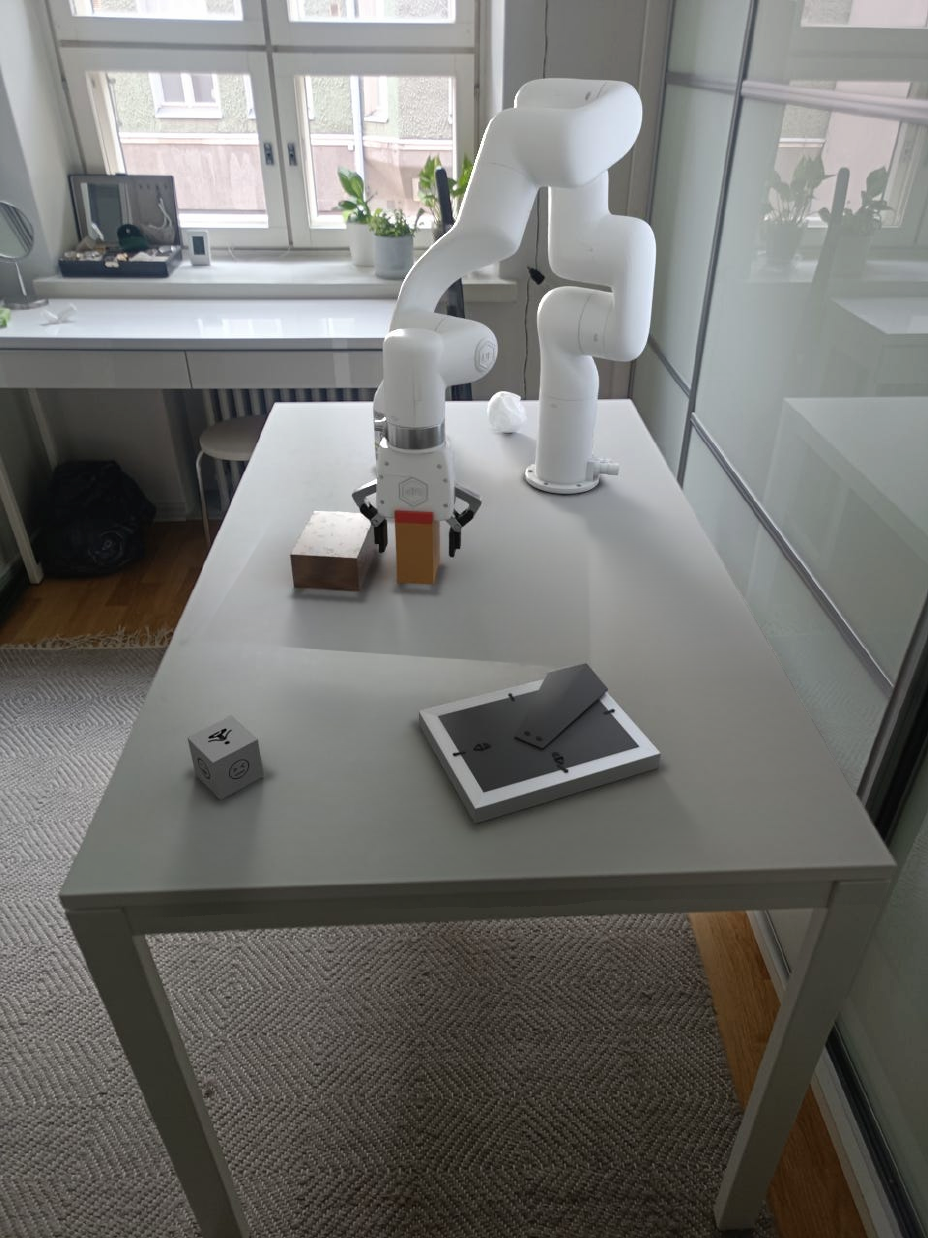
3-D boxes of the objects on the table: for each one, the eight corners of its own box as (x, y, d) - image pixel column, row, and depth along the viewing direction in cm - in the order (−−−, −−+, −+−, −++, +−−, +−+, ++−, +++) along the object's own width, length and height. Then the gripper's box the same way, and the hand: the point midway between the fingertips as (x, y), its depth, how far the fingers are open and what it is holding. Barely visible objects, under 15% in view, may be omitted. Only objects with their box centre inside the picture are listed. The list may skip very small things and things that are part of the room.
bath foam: (388, 482, 149) (383, 365, 138) (369, 468, 154) (362, 354, 143) (423, 473, 152) (421, 358, 141) (403, 459, 157) (399, 348, 146)
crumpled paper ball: (526, 439, 165) (528, 399, 161) (486, 438, 166) (487, 398, 161) (525, 424, 172) (527, 385, 168) (487, 423, 172) (488, 384, 168)
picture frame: (584, 682, 103) (418, 725, 96) (586, 662, 101) (418, 705, 95) (658, 768, 91) (474, 824, 84) (661, 747, 89) (475, 803, 83)
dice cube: (238, 751, 92) (231, 715, 90) (263, 776, 89) (257, 739, 87) (195, 774, 90) (187, 737, 87) (220, 800, 87) (212, 762, 84)
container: (429, 580, 126) (480, 519, 120) (422, 606, 121) (475, 543, 114) (365, 538, 124) (414, 473, 117) (355, 563, 118) (406, 496, 112)
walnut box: (378, 553, 128) (375, 513, 125) (359, 600, 118) (357, 558, 114) (318, 549, 129) (314, 510, 125) (294, 596, 118) (289, 554, 115)
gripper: (341, 439, 108) (350, 560, 117) (481, 446, 106) (478, 568, 116) (354, 417, 114) (361, 534, 124) (486, 424, 113) (483, 541, 122)
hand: (417, 550), depth 120 cm, fingers open, 9 cm apart
